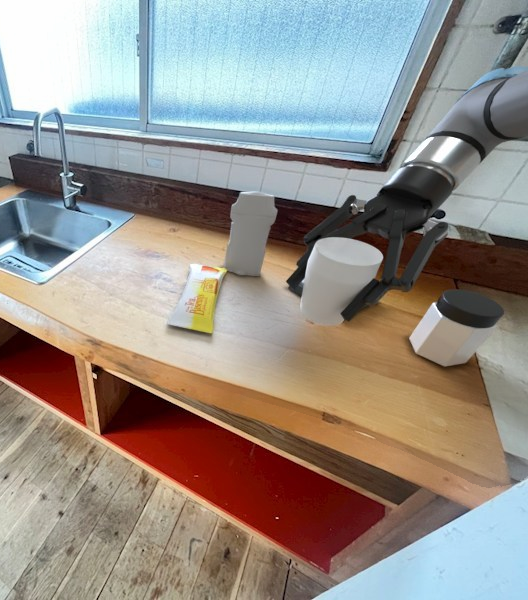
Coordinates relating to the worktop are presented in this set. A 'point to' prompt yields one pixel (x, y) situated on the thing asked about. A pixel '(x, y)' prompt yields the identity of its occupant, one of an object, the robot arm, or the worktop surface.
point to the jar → (455, 327)
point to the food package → (198, 299)
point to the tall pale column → (249, 232)
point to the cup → (336, 277)
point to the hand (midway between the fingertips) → (315, 300)
